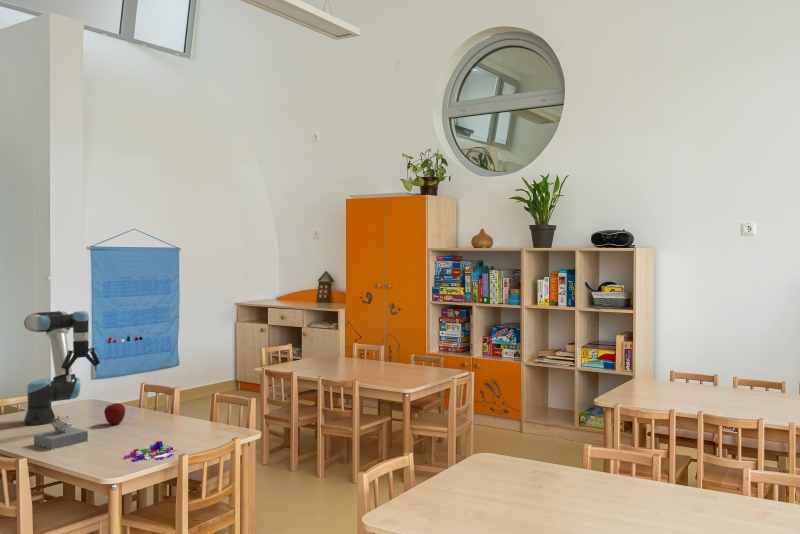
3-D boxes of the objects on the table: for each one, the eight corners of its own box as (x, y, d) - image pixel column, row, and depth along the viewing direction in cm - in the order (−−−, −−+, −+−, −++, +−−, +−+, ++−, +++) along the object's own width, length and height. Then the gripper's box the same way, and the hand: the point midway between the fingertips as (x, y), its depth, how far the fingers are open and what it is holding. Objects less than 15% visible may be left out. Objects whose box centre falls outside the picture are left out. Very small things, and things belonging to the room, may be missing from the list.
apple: (109, 421, 365) (109, 400, 365) (128, 421, 365) (128, 400, 365) (100, 426, 354) (100, 405, 354) (120, 426, 354) (120, 404, 354)
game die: (65, 439, 324) (79, 421, 327) (56, 437, 316) (70, 419, 319) (52, 429, 326) (66, 412, 329) (43, 427, 318) (57, 409, 321)
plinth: (34, 444, 319) (33, 434, 319) (69, 436, 334) (69, 426, 334) (51, 449, 310) (51, 439, 310) (87, 440, 325) (87, 430, 325)
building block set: (143, 465, 286) (143, 455, 286) (118, 457, 299) (118, 448, 298) (192, 452, 306) (192, 442, 306) (166, 445, 319) (166, 436, 319)
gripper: (61, 343, 339) (61, 383, 339) (106, 338, 360) (106, 376, 360) (54, 342, 343) (54, 382, 344) (98, 337, 364) (99, 375, 364)
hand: (81, 379), depth 352 cm, fingers open, 13 cm apart
